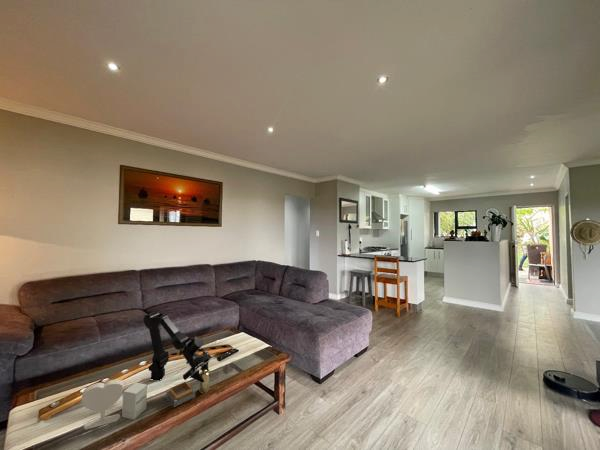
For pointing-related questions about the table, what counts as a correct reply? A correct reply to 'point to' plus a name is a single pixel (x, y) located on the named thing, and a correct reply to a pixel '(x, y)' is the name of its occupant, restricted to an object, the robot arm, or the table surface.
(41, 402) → the table surface
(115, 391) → the heart sculpture
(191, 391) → the grey square tray
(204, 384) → the spout can
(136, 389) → the supplement box
